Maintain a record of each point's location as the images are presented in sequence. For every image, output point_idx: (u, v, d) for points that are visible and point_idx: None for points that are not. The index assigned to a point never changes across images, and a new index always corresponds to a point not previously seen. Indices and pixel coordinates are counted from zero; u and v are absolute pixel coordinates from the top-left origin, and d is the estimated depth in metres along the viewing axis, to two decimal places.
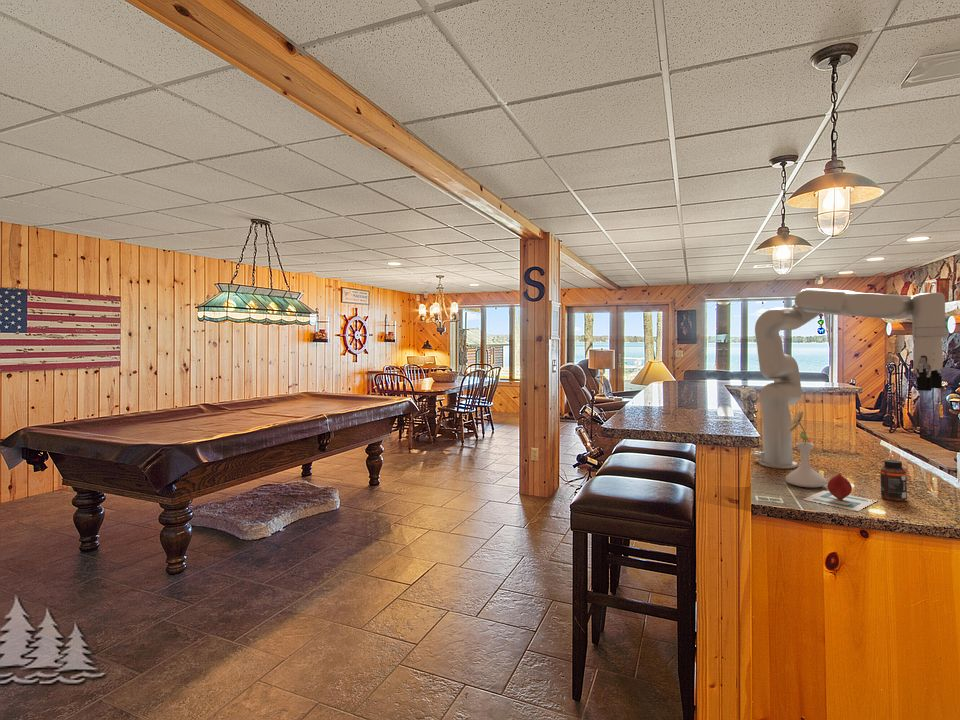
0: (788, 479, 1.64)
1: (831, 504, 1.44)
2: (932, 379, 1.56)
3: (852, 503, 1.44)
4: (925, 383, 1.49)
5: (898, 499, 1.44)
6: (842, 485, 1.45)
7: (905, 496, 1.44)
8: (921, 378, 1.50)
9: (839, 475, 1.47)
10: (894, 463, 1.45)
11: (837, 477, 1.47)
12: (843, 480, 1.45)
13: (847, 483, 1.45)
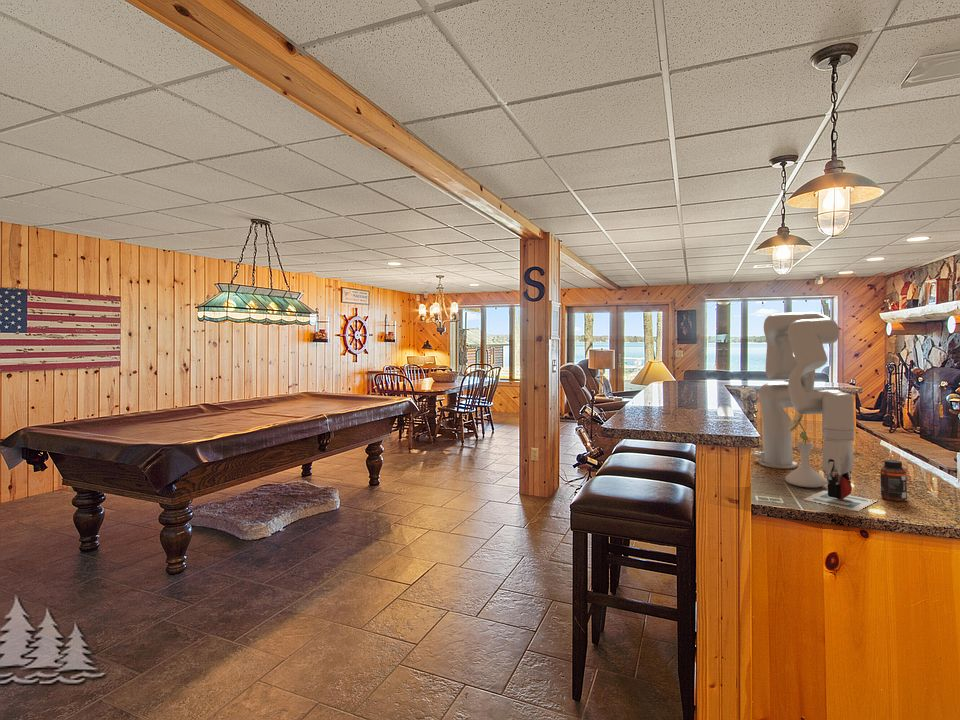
0: (788, 479, 1.64)
1: (831, 504, 1.44)
2: None
3: (852, 503, 1.44)
4: (835, 491, 1.44)
5: (898, 499, 1.44)
6: (842, 485, 1.45)
7: (905, 496, 1.44)
8: (831, 485, 1.45)
9: None
10: (894, 463, 1.45)
11: None
12: (843, 480, 1.45)
13: (847, 483, 1.45)
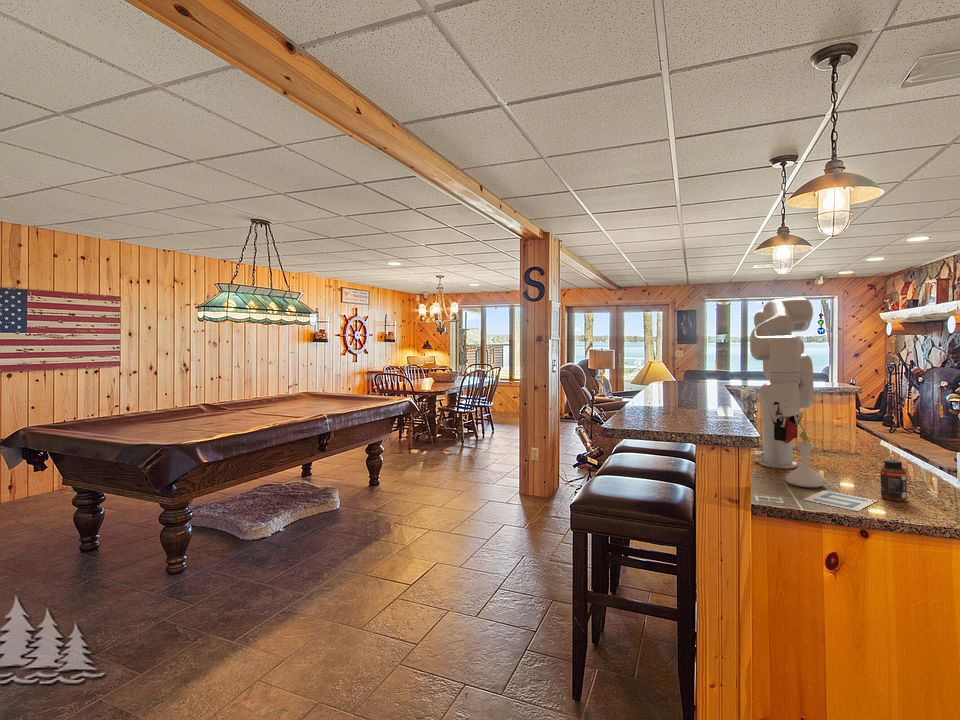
0: (788, 479, 1.64)
1: (831, 504, 1.44)
2: None
3: (852, 503, 1.44)
4: (780, 433, 1.45)
5: (898, 499, 1.44)
6: (787, 427, 1.45)
7: (905, 496, 1.44)
8: (776, 428, 1.46)
9: None
10: (894, 463, 1.45)
11: None
12: (788, 423, 1.46)
13: (793, 426, 1.45)
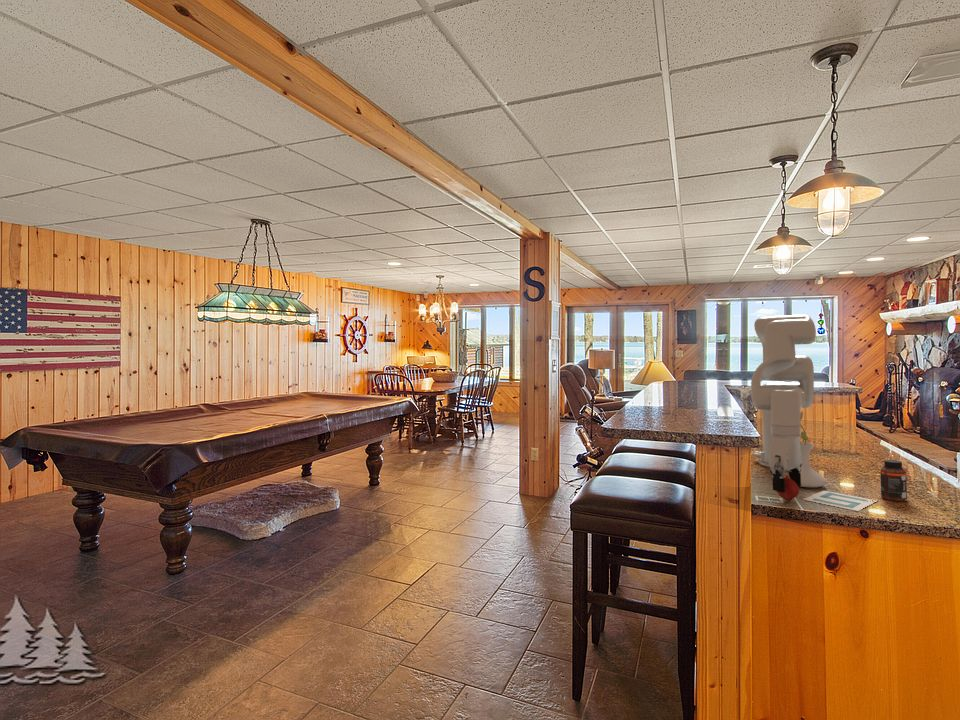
0: None
1: (831, 504, 1.44)
2: (792, 476, 1.51)
3: (852, 503, 1.44)
4: (779, 484, 1.44)
5: (898, 499, 1.44)
6: (789, 487, 1.46)
7: (905, 496, 1.44)
8: (775, 479, 1.45)
9: (787, 477, 1.47)
10: (894, 463, 1.45)
11: (785, 479, 1.48)
12: (790, 482, 1.46)
13: (794, 485, 1.46)
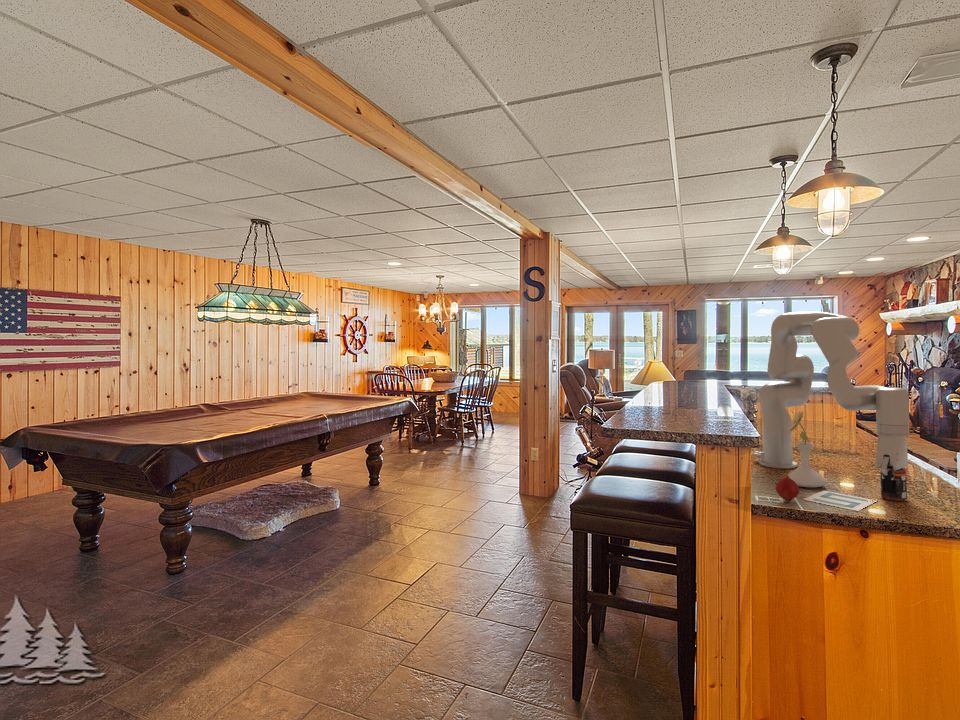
0: None
1: (831, 504, 1.44)
2: None
3: (852, 503, 1.44)
4: (890, 486, 1.44)
5: (898, 499, 1.44)
6: (789, 487, 1.46)
7: (905, 496, 1.44)
8: (886, 480, 1.45)
9: (787, 477, 1.47)
10: None
11: (785, 479, 1.48)
12: (790, 482, 1.46)
13: (794, 485, 1.46)
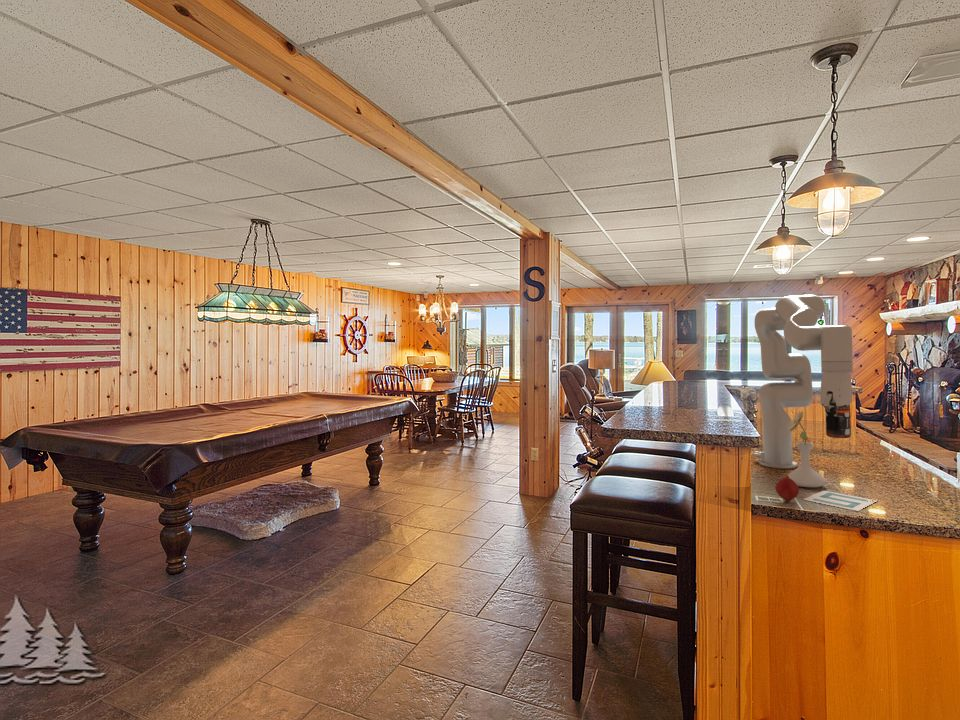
0: None
1: (831, 504, 1.44)
2: None
3: (852, 503, 1.44)
4: (833, 423, 1.44)
5: (841, 436, 1.44)
6: (789, 487, 1.46)
7: (848, 433, 1.44)
8: (829, 417, 1.45)
9: (786, 477, 1.48)
10: None
11: (785, 479, 1.48)
12: (790, 482, 1.46)
13: (794, 485, 1.46)
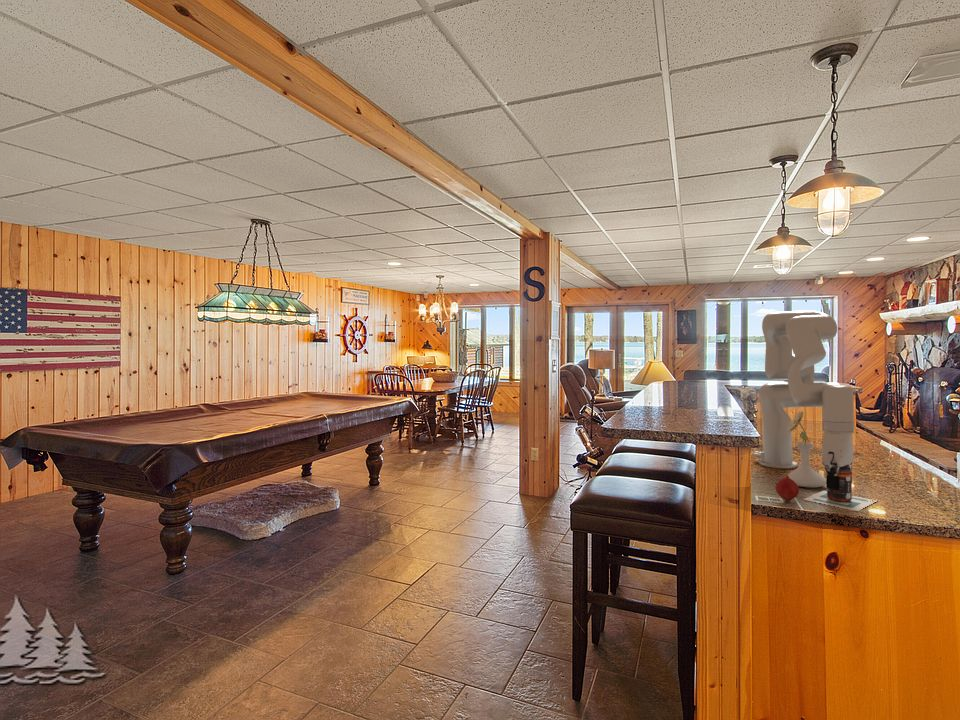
0: None
1: (831, 504, 1.44)
2: None
3: (852, 503, 1.44)
4: (833, 482, 1.44)
5: (842, 500, 1.45)
6: (789, 487, 1.46)
7: (849, 497, 1.45)
8: (829, 476, 1.45)
9: (787, 477, 1.48)
10: None
11: (785, 479, 1.48)
12: (790, 482, 1.46)
13: (794, 485, 1.46)
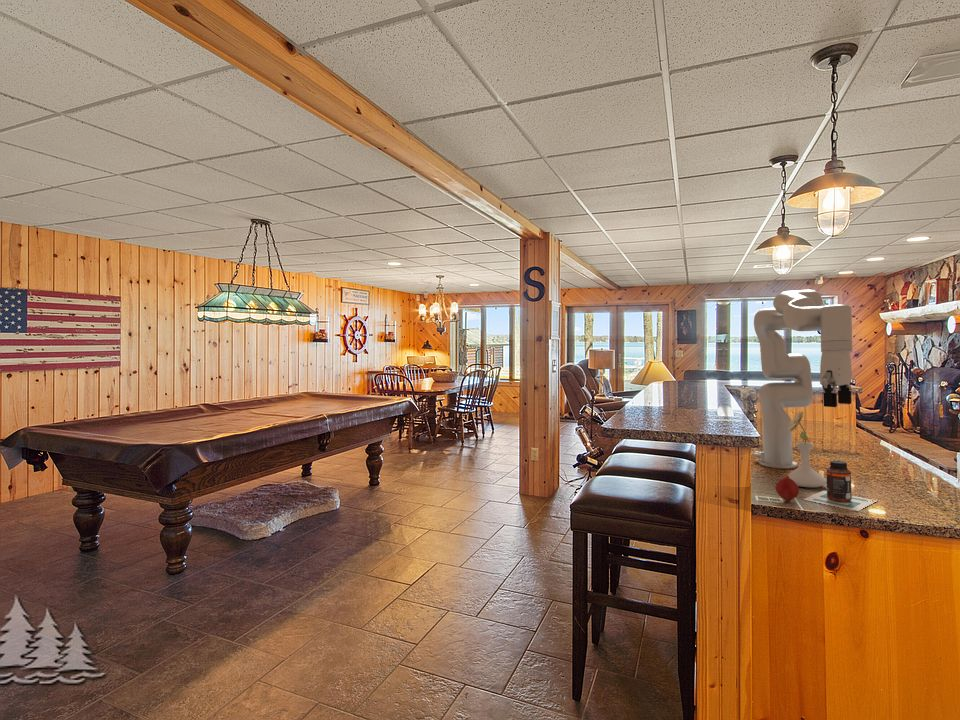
0: None
1: (831, 504, 1.44)
2: (842, 394, 1.50)
3: (852, 503, 1.44)
4: (830, 399, 1.43)
5: (842, 500, 1.45)
6: (789, 487, 1.46)
7: (849, 497, 1.45)
8: (827, 394, 1.44)
9: (787, 477, 1.48)
10: (839, 464, 1.46)
11: (785, 479, 1.48)
12: (790, 482, 1.46)
13: (794, 485, 1.46)
